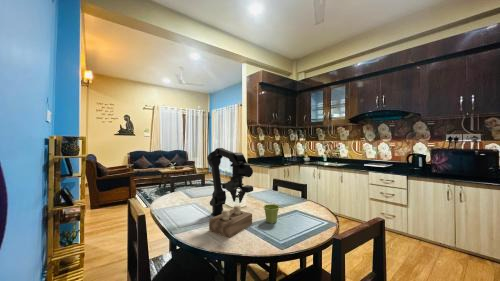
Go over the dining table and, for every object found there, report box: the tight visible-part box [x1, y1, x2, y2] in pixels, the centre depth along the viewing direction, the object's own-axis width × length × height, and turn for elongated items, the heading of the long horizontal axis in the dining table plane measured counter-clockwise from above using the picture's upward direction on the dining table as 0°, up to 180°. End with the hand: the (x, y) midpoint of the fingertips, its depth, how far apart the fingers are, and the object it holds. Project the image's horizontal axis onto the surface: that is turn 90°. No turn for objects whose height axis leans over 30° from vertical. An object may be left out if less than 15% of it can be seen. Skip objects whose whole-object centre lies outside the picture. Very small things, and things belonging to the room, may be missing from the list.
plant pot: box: [263, 203, 280, 224], centre depth 120 cm, size 9×9×9 cm
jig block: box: [208, 208, 253, 238], centre depth 112 cm, size 14×20×6 cm
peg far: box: [233, 205, 242, 216], centre depth 116 cm, size 4×4×5 cm
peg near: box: [222, 209, 230, 222], centre depth 108 cm, size 4×4×5 cm
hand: (237, 202), depth 116 cm, fingers open, 4 cm apart
